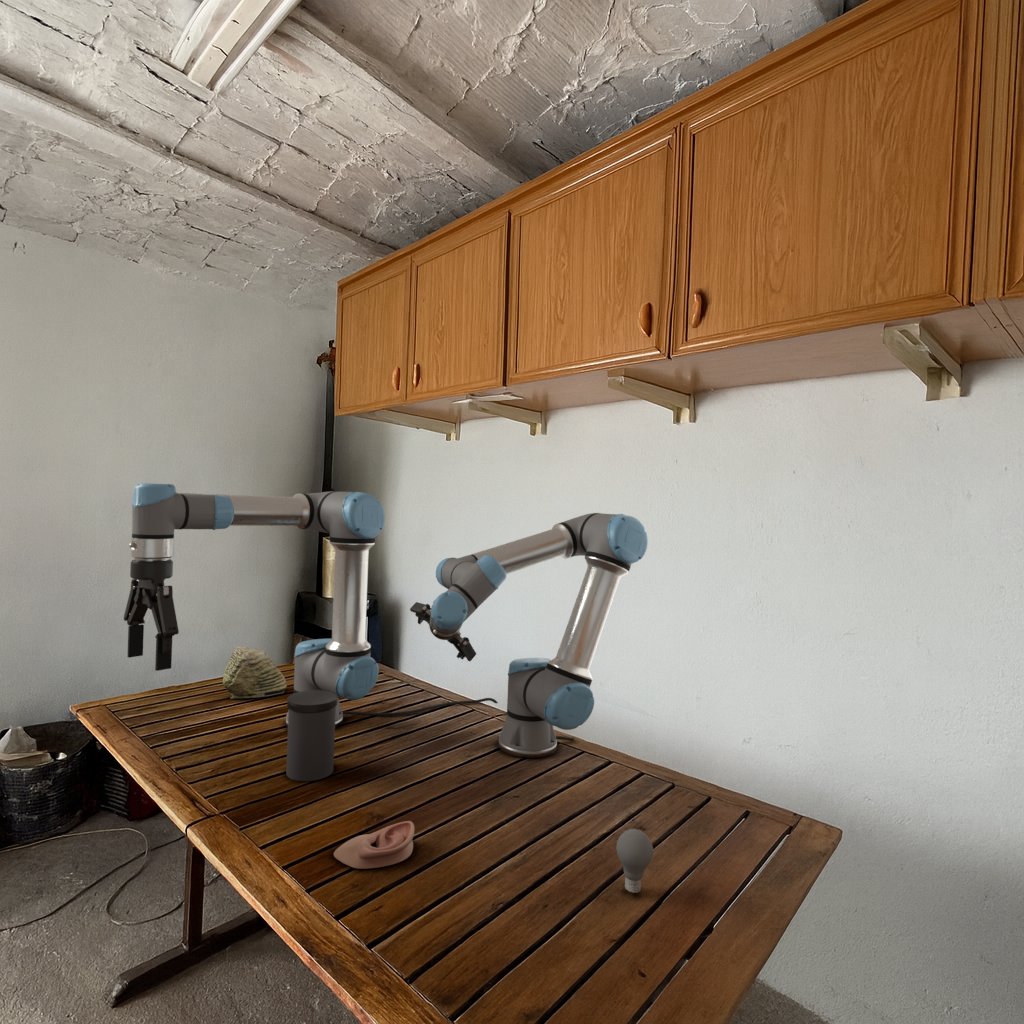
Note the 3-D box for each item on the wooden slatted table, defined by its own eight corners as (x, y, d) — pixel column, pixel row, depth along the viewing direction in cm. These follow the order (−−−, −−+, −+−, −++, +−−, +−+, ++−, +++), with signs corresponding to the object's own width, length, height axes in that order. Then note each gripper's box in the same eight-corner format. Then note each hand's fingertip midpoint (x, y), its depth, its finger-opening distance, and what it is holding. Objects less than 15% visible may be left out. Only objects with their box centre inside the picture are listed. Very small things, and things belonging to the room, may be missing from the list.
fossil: (218, 695, 195) (220, 647, 195) (278, 685, 208) (279, 640, 207) (228, 703, 189) (230, 653, 188) (289, 692, 201) (290, 645, 201)
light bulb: (610, 879, 108) (613, 822, 108) (644, 879, 109) (647, 822, 109) (619, 902, 102) (622, 840, 102) (655, 901, 103) (658, 840, 103)
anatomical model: (325, 840, 109) (355, 809, 121) (324, 863, 109) (354, 830, 121) (398, 852, 107) (421, 819, 118) (397, 876, 107) (420, 840, 118)
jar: (277, 770, 145) (280, 698, 145) (318, 758, 153) (320, 689, 153) (301, 785, 138) (303, 709, 138) (342, 772, 146) (344, 700, 146)
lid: (278, 703, 145) (278, 696, 145) (321, 694, 153) (321, 687, 153) (303, 716, 138) (303, 708, 138) (346, 705, 146) (347, 698, 146)
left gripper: (108, 554, 134) (104, 654, 134) (159, 565, 118) (155, 678, 119) (146, 552, 140) (143, 648, 140) (199, 563, 124) (195, 671, 124)
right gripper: (395, 598, 148) (396, 616, 167) (476, 669, 145) (467, 679, 164) (416, 575, 150) (415, 595, 170) (497, 644, 148) (486, 656, 167)
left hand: (148, 662), depth 129 cm, fingers open, 13 cm apart
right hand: (441, 636), depth 167 cm, fingers open, 13 cm apart
